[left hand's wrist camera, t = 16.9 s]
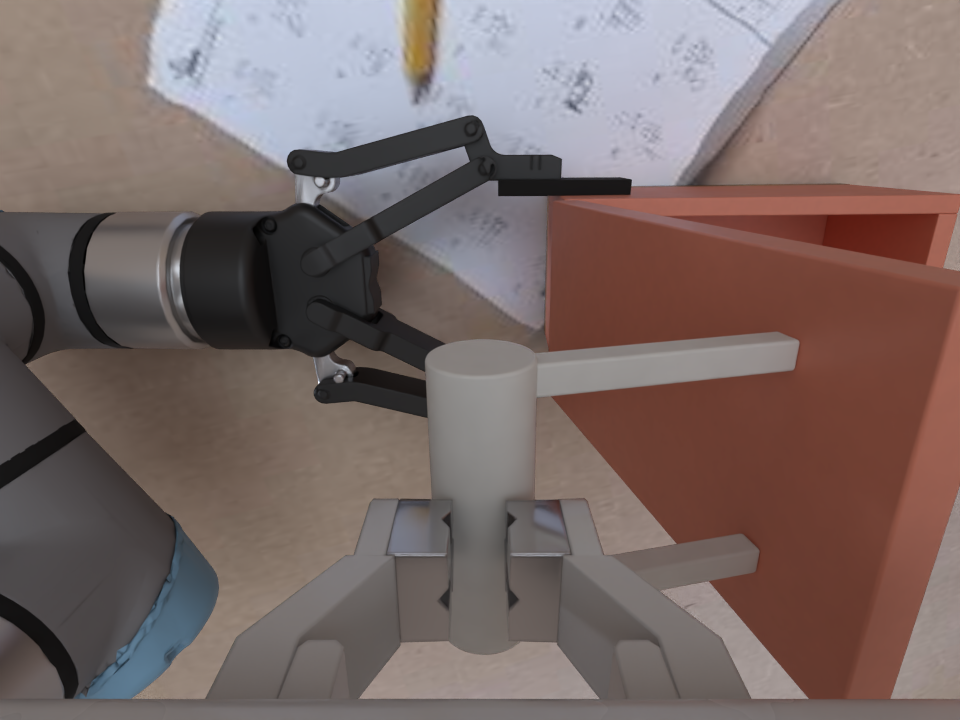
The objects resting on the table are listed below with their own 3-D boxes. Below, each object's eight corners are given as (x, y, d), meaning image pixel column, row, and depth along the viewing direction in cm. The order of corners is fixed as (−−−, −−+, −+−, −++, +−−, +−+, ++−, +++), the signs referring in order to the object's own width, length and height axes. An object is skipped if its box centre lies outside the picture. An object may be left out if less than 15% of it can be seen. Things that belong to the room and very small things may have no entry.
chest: (840, 183, 34) (963, 194, 25) (811, 329, 37) (911, 386, 28) (547, 187, 35) (563, 198, 26) (544, 330, 38) (557, 386, 29)
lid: (1028, 283, 9) (452, 327, 7) (885, 719, 12) (468, 827, 10) (578, 199, 25) (377, 206, 23) (570, 389, 28) (392, 408, 26)
